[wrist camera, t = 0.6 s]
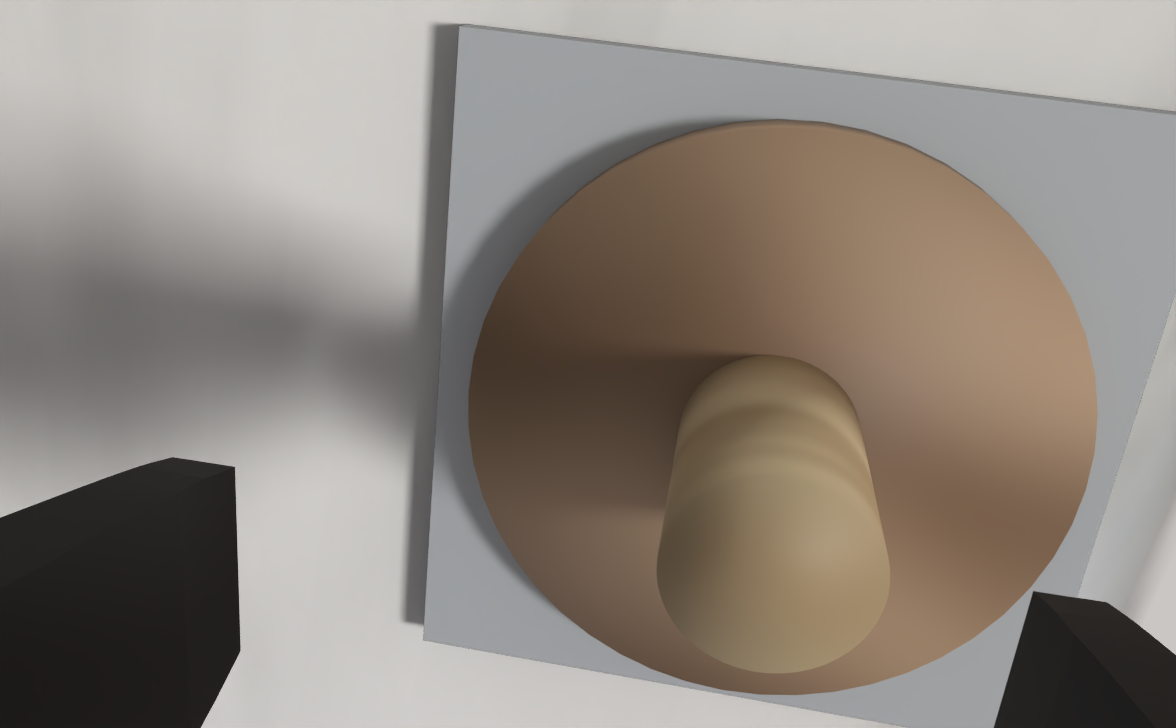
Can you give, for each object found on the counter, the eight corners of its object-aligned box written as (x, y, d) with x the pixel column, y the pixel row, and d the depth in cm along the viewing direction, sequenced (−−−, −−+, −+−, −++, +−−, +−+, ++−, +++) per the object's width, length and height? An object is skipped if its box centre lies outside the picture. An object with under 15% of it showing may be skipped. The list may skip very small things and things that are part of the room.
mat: (1021, 730, 20) (1027, 748, 19) (430, 624, 21) (422, 640, 20) (1216, 117, 15) (1231, 121, 15) (467, 24, 16) (459, 25, 16)
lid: (997, 710, 19) (1070, 943, 14) (462, 615, 20) (377, 807, 15) (1163, 164, 15) (1328, 252, 11) (502, 80, 16) (405, 128, 12)
